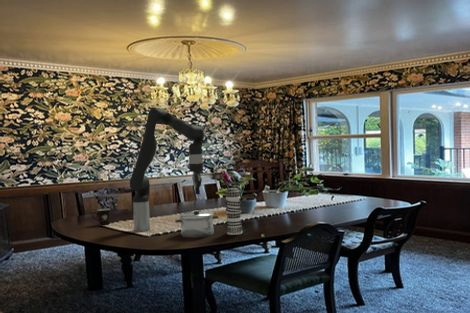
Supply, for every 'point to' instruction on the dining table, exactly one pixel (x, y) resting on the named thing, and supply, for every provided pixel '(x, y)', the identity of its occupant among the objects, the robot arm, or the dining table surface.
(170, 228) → the dining table surface
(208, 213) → the pot lid
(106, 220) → the coffee mug
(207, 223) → the cooking pot
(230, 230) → the decorative candle
